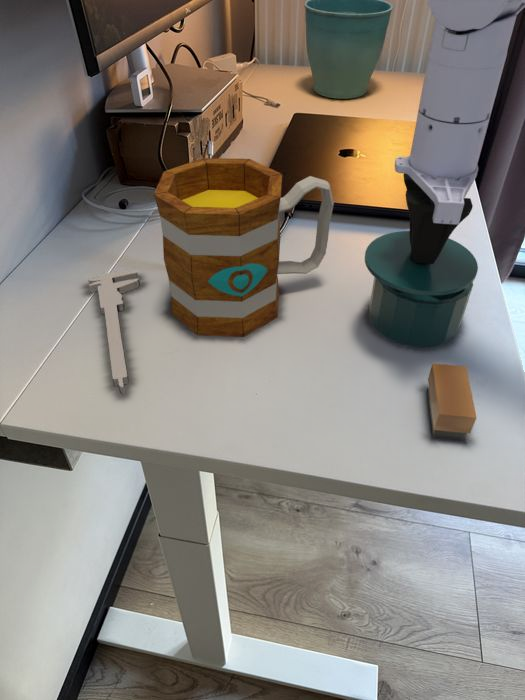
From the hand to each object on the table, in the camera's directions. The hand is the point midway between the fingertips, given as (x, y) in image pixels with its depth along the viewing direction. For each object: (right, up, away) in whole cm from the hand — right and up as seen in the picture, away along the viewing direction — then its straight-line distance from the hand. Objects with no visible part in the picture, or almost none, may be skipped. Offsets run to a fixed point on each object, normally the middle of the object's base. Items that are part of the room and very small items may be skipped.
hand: (421, 253), depth 54 cm
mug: (-17, -3, +12) cm, 21 cm away
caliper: (-30, -7, +8) cm, 32 cm away
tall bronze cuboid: (+2, -16, -2) cm, 16 cm away
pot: (+2, -6, +9) cm, 11 cm away
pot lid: (0, -1, +1) cm, 1 cm away
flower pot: (+2, +49, +69) cm, 85 cm away
